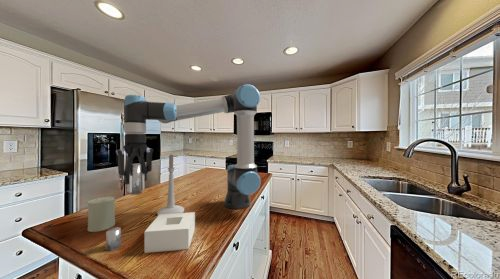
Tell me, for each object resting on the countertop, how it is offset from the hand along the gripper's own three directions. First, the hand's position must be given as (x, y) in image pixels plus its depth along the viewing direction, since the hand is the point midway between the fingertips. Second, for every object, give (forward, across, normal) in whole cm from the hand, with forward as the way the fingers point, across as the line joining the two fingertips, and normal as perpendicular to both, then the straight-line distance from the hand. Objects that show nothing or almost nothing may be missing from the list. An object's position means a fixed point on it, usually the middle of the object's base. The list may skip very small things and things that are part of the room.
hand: (136, 190), depth 73 cm
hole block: (+17, -5, +18) cm, 25 cm away
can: (+17, +7, -16) cm, 24 cm away
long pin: (+1, 0, 0) cm, 1 cm away
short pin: (+17, +10, +6) cm, 20 cm away
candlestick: (+17, -19, -7) cm, 26 cm away
